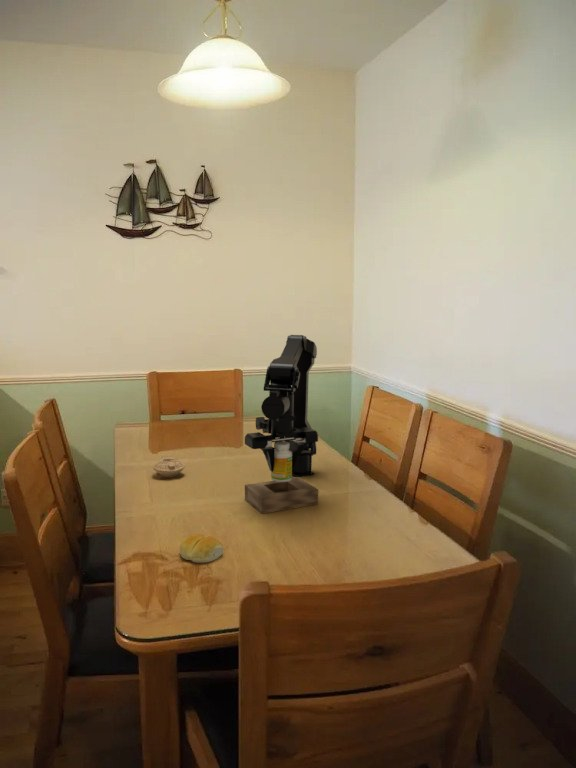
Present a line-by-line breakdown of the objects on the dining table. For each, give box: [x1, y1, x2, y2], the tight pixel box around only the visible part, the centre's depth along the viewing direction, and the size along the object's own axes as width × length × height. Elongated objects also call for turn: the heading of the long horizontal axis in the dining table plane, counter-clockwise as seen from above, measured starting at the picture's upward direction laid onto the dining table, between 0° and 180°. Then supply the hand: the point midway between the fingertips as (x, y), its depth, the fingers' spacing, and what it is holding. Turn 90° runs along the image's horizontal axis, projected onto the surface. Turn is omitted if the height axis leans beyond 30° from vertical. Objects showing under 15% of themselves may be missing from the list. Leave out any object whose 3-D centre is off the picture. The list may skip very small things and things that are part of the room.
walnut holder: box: [244, 476, 319, 514], centre depth 158 cm, size 16×11×4 cm
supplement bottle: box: [270, 441, 293, 482], centre depth 156 cm, size 5×5×10 cm
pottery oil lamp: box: [152, 455, 186, 478], centre depth 180 cm, size 9×12×7 cm
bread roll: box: [179, 533, 224, 564], centre depth 126 cm, size 8×9×4 cm
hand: (281, 469), depth 157 cm, fingers closed on supplement bottle, 5 cm apart
